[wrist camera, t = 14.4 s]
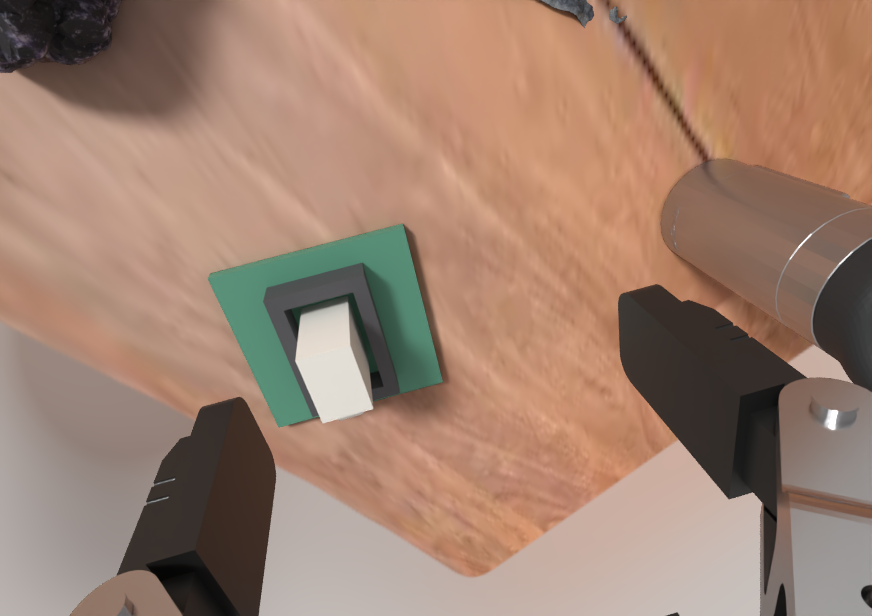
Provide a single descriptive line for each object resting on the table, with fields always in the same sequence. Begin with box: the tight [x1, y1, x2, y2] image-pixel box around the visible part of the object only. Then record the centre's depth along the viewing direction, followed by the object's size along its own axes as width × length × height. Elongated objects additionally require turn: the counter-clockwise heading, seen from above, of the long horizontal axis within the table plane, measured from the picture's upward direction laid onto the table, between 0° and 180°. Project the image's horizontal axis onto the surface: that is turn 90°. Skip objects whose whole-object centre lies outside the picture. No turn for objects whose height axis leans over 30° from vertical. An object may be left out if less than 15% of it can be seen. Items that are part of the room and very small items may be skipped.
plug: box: [295, 295, 373, 423], centre depth 42 cm, size 4×7×8 cm, turn 13°
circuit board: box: [208, 224, 443, 427], centre depth 45 cm, size 16×16×4 cm
